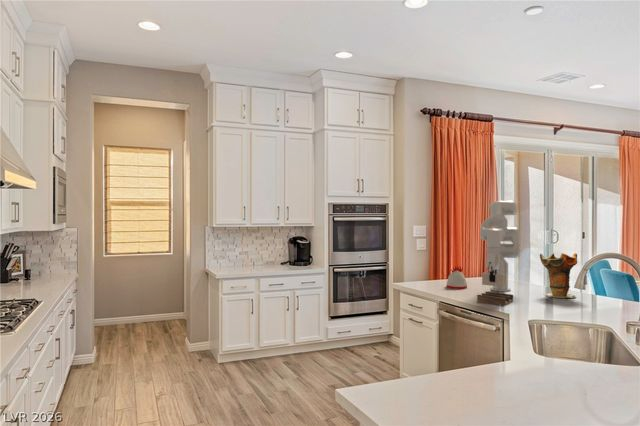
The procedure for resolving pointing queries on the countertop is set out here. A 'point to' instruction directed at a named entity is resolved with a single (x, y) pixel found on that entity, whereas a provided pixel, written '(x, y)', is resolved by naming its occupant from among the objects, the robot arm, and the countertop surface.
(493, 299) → the walnut rack
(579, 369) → the countertop surface
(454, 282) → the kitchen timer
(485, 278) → the beige rectangular block
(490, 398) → the countertop surface
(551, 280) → the decorative vase
